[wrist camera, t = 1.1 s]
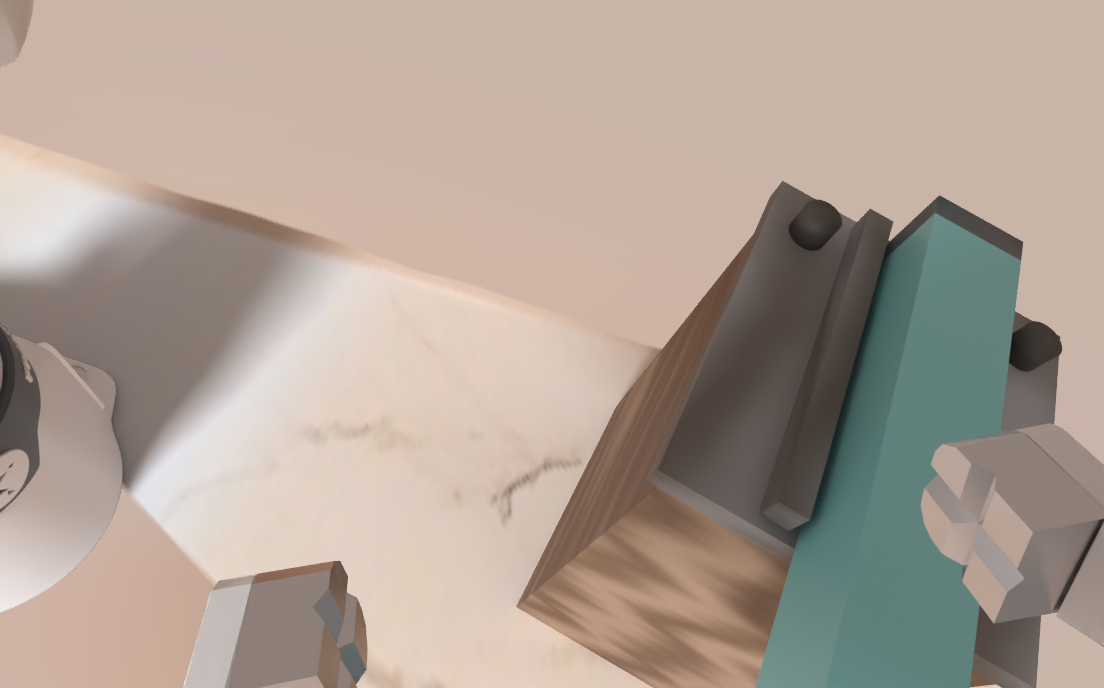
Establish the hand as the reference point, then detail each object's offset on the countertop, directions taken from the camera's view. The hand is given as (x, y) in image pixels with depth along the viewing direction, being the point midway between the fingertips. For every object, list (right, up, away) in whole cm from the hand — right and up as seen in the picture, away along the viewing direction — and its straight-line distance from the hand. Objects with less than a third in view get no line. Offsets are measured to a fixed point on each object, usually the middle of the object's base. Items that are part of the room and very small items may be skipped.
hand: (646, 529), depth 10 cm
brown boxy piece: (+6, -12, +42) cm, 44 cm away
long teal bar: (+10, -4, +17) cm, 20 cm away
